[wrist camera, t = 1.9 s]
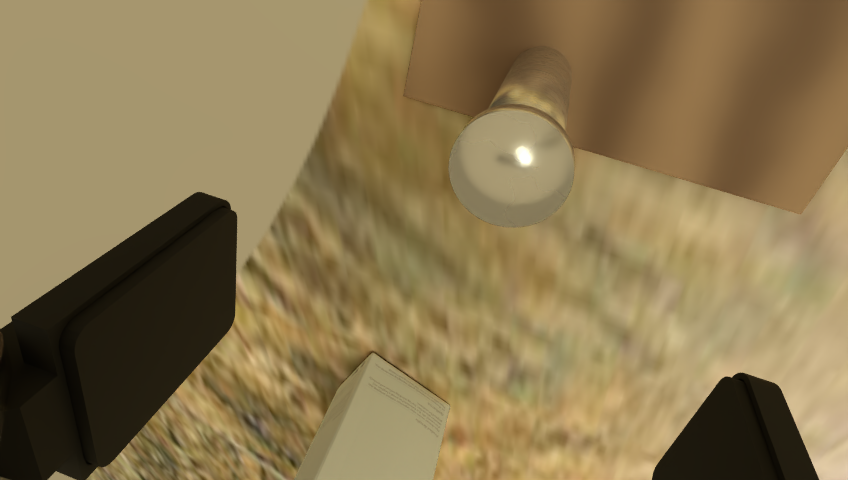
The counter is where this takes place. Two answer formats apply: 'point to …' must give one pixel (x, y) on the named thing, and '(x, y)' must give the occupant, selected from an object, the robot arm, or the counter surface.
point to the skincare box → (377, 429)
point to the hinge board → (665, 82)
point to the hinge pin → (518, 145)
